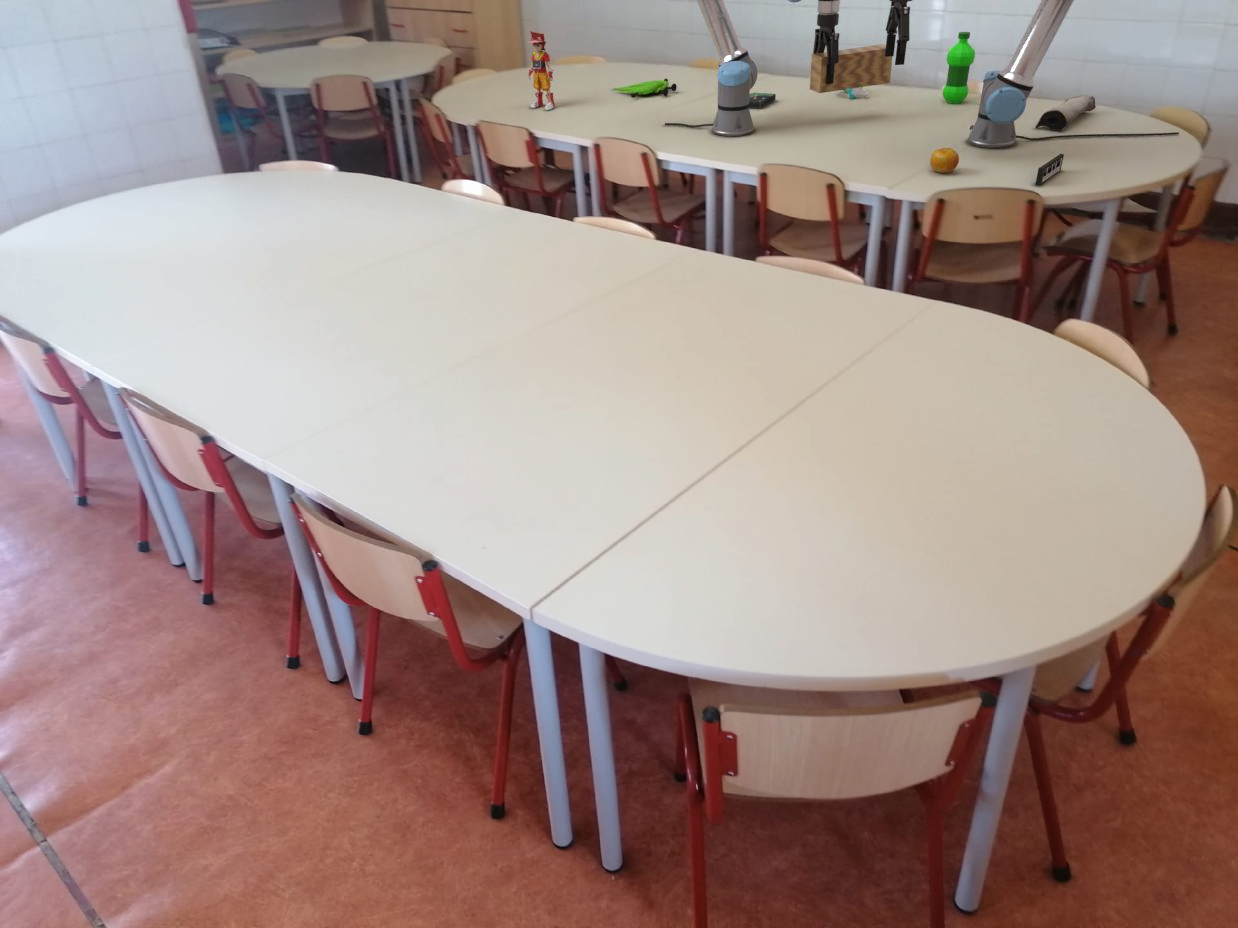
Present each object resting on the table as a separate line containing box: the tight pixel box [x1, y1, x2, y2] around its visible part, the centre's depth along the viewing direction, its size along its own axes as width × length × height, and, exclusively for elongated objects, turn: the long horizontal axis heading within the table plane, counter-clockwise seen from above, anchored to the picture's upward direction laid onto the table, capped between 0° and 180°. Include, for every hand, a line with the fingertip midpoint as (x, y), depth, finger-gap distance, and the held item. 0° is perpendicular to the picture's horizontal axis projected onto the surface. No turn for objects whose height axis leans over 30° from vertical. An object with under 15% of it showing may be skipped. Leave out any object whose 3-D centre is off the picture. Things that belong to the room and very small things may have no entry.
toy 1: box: [527, 31, 556, 111], centre depth 374 cm, size 12×9×30 cm
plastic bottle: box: [942, 31, 976, 104], centre depth 348 cm, size 10×10×25 cm
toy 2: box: [612, 78, 677, 99], centre depth 396 cm, size 28×5×30 cm
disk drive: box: [749, 92, 777, 109], centre depth 368 cm, size 10×3×15 cm
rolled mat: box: [1035, 94, 1097, 132], centre depth 323 cm, size 30×9×10 cm
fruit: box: [929, 147, 960, 174], centre depth 283 cm, size 8×8×8 cm
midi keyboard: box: [1035, 153, 1065, 186], centre depth 273 cm, size 18×1×5 cm, turn 138°
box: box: [809, 44, 893, 94], centre depth 331 cm, size 29×8×12 cm, turn 107°
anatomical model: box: [842, 87, 869, 99], centre depth 370 cm, size 15×10×10 cm
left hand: (823, 81), depth 331 cm, fingers closed on box, 8 cm apart
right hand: (894, 60), depth 289 cm, fingers open, 13 cm apart
